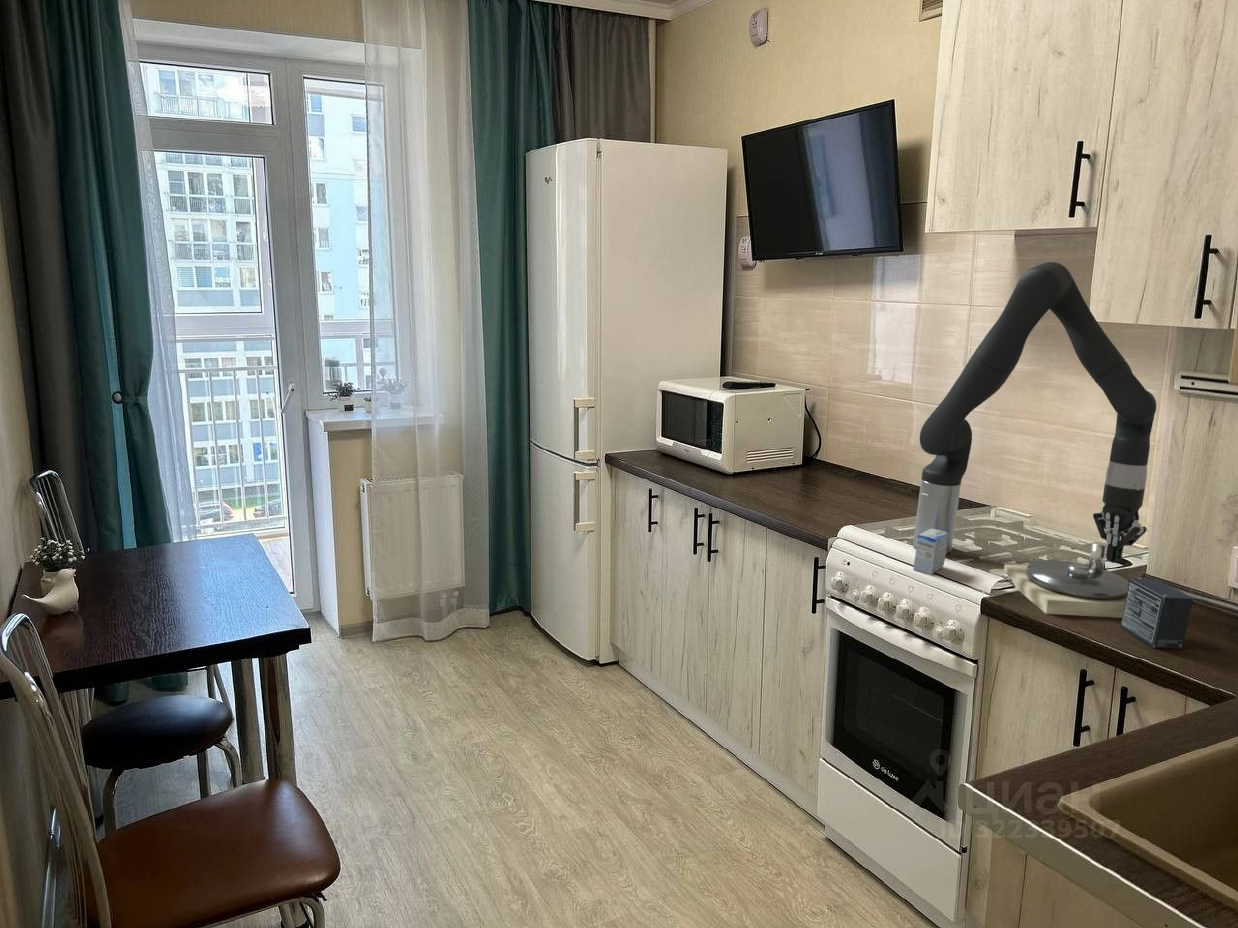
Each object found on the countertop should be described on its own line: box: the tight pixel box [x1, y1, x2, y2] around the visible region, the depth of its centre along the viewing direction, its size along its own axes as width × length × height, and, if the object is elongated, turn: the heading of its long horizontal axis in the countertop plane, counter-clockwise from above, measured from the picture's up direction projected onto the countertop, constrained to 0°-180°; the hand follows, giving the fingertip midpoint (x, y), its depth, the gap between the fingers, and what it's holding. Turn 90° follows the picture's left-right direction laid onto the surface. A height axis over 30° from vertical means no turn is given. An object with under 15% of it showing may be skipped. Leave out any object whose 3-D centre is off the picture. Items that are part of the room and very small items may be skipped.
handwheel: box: [1026, 541, 1129, 599], centre depth 195 cm, size 20×20×8 cm
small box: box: [1119, 577, 1194, 650], centre depth 175 cm, size 11×6×10 cm, turn 5°
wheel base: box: [1003, 564, 1127, 619], centre depth 196 cm, size 22×22×3 cm
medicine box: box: [913, 529, 949, 575], centre depth 209 cm, size 8×4×9 cm, turn 141°
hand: (1113, 561), depth 196 cm, fingers closed
